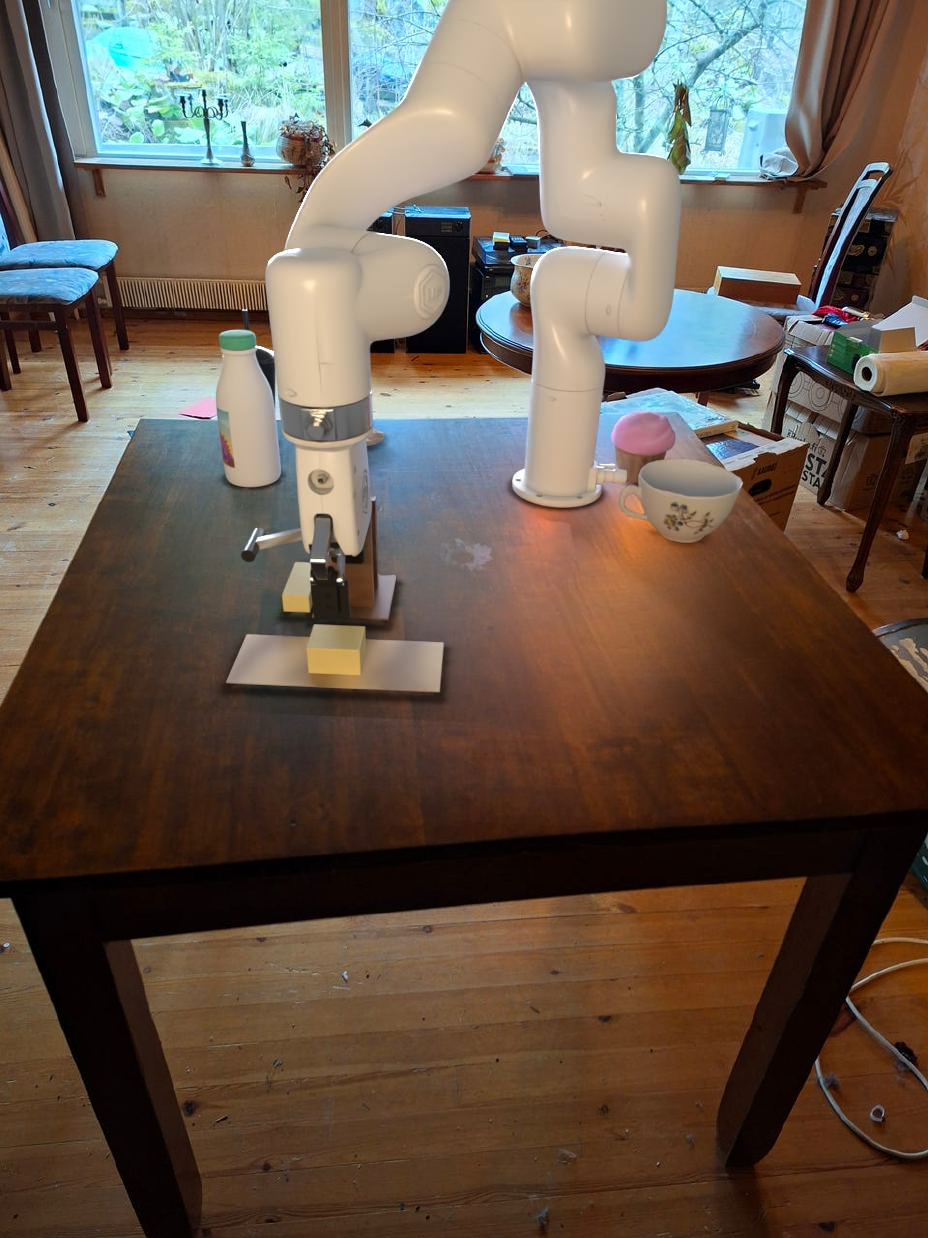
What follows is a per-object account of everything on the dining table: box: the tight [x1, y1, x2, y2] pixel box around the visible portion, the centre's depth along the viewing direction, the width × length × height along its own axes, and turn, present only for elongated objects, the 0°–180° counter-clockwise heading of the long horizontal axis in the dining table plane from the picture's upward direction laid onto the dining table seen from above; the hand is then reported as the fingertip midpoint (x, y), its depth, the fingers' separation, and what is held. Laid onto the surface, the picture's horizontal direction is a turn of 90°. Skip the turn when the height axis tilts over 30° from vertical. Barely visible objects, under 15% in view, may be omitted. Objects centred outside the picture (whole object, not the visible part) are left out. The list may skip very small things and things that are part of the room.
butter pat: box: [306, 623, 367, 675], centre depth 80 cm, size 5×4×3 cm
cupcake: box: [610, 410, 676, 484], centre depth 119 cm, size 9×9×10 cm
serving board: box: [225, 633, 445, 693], centre depth 81 cm, size 20×8×1 cm, turn 88°
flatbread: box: [366, 428, 386, 447], centre depth 130 cm, size 8×8×1 cm
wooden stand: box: [311, 496, 398, 622], centre depth 88 cm, size 8×9×12 cm
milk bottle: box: [215, 329, 282, 488], centre depth 112 cm, size 8×8×20 cm
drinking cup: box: [242, 309, 276, 408], centre depth 122 cm, size 8×8×20 cm
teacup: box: [618, 457, 744, 544], centre depth 105 cm, size 15×12×8 cm
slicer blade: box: [240, 527, 303, 563], centre depth 86 cm, size 13×5×2 cm, turn 88°
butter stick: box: [281, 561, 313, 613], centre depth 90 cm, size 3×7×3 cm, turn 178°
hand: (340, 588), depth 78 cm, fingers open, 9 cm apart
